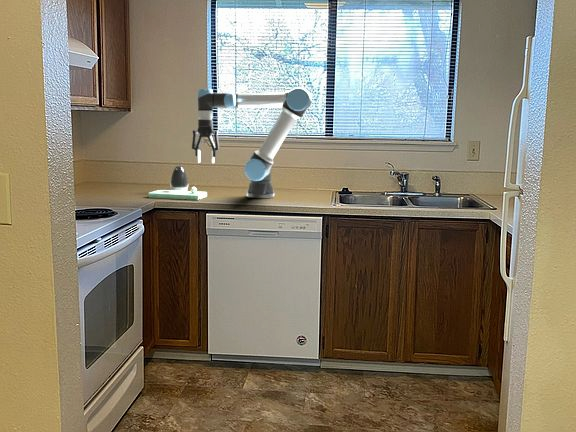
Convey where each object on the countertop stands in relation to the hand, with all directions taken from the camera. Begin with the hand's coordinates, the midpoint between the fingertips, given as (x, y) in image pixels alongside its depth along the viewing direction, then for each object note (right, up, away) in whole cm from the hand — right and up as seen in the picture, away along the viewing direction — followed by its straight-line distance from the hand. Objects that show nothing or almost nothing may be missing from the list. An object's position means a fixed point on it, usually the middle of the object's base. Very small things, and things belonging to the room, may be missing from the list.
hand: (205, 162), depth 314 cm
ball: (-7, -14, +4) cm, 16 cm away
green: (-16, -18, +7) cm, 25 cm away
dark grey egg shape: (-18, -15, +24) cm, 34 cm away
